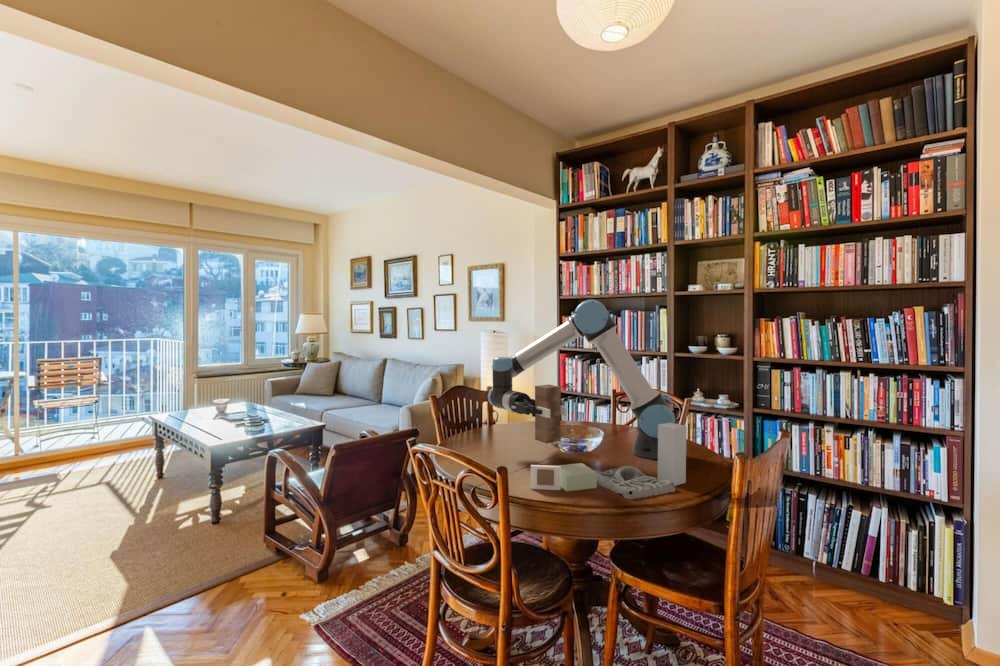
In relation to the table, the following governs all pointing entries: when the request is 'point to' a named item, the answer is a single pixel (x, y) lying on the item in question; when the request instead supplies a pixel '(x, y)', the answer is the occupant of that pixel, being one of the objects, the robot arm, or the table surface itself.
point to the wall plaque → (633, 482)
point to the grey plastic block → (672, 453)
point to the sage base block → (577, 477)
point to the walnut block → (550, 399)
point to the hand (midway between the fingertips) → (557, 412)
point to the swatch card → (545, 477)
